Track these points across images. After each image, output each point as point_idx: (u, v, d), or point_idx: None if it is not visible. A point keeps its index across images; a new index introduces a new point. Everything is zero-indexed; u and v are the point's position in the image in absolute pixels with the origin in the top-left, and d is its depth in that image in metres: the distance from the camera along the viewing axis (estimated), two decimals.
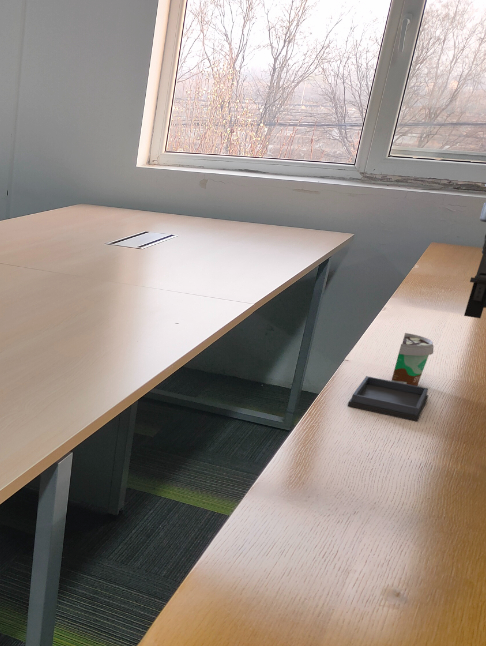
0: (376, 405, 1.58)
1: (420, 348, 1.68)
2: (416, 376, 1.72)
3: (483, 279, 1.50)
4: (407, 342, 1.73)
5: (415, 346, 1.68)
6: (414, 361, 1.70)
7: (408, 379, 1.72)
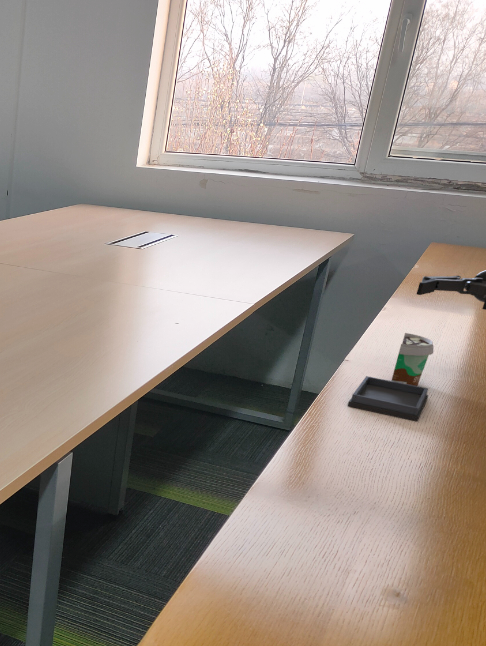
0: (376, 405, 1.58)
1: (420, 348, 1.68)
2: (416, 376, 1.72)
3: (422, 281, 1.85)
4: (407, 342, 1.73)
5: (415, 346, 1.68)
6: (414, 361, 1.70)
7: (408, 379, 1.72)
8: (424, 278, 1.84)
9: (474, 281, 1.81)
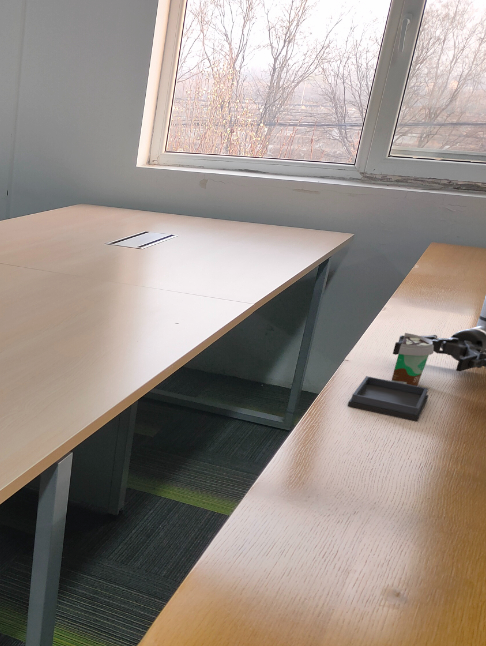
0: (376, 405, 1.58)
1: (420, 348, 1.68)
2: (416, 376, 1.72)
3: (399, 340, 1.88)
4: (407, 342, 1.73)
5: (415, 346, 1.68)
6: (414, 361, 1.70)
7: (408, 379, 1.72)
8: (401, 337, 1.87)
9: (450, 341, 1.84)
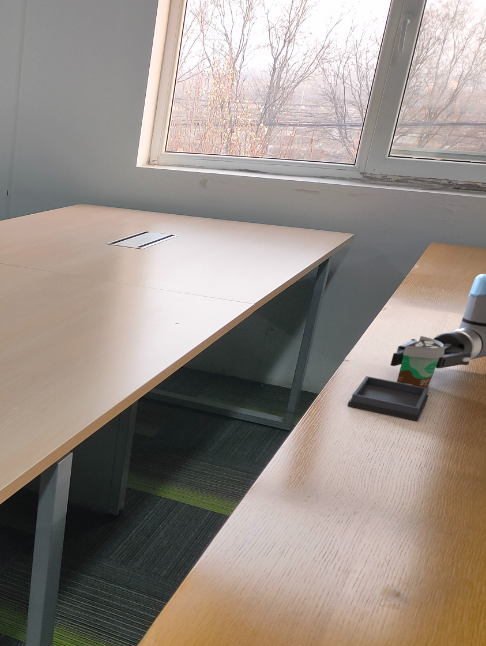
0: (376, 405, 1.58)
1: (426, 350, 1.67)
2: (424, 379, 1.70)
3: (397, 350, 1.78)
4: (417, 344, 1.71)
5: (420, 348, 1.67)
6: (420, 364, 1.68)
7: (414, 382, 1.70)
8: (401, 348, 1.77)
9: None
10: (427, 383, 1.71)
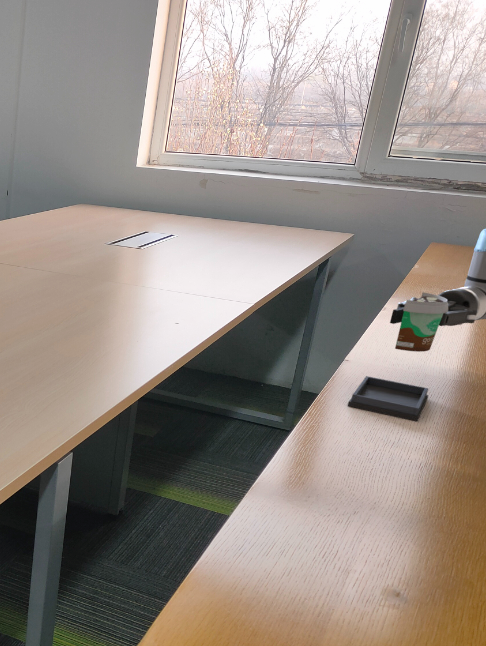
0: (376, 405, 1.58)
1: (428, 305, 1.54)
2: (426, 337, 1.57)
3: (397, 308, 1.64)
4: (418, 300, 1.58)
5: (422, 303, 1.54)
6: (422, 320, 1.55)
7: (415, 340, 1.57)
8: (401, 305, 1.64)
9: None
10: (430, 342, 1.58)
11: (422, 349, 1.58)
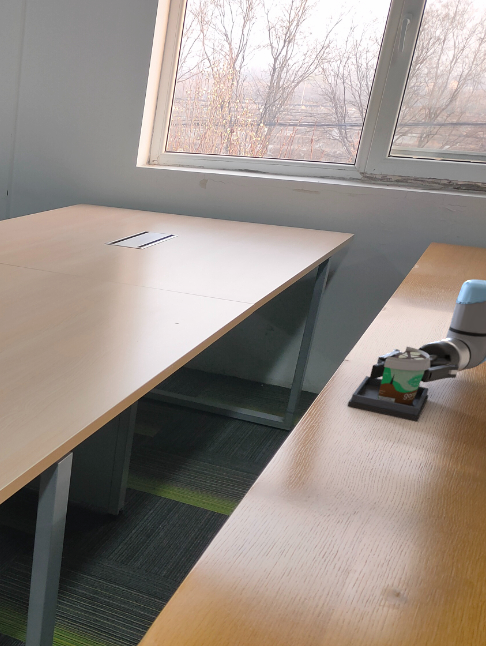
0: (376, 405, 1.58)
1: (409, 362, 1.55)
2: (407, 393, 1.58)
3: (377, 362, 1.66)
4: (400, 355, 1.59)
5: (403, 359, 1.55)
6: (402, 376, 1.56)
7: (396, 396, 1.58)
8: (381, 359, 1.65)
9: None
10: (411, 397, 1.59)
11: None
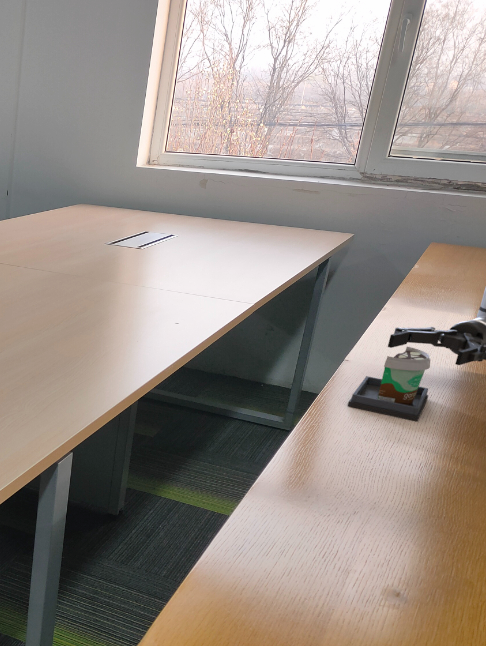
0: (376, 405, 1.58)
1: (409, 362, 1.55)
2: (407, 393, 1.58)
3: None
4: (400, 356, 1.59)
5: (403, 360, 1.55)
6: (402, 376, 1.56)
7: (396, 396, 1.58)
8: (396, 329, 1.76)
9: (448, 333, 1.73)
10: (411, 397, 1.59)
11: None
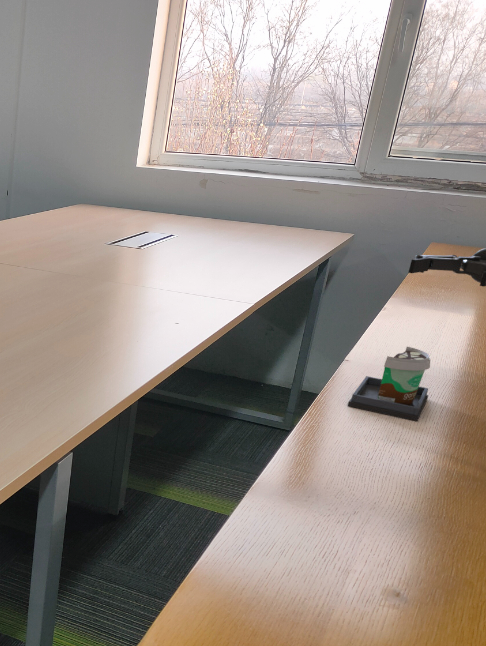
0: (376, 405, 1.58)
1: (409, 362, 1.55)
2: (407, 393, 1.58)
3: None
4: (400, 356, 1.59)
5: (403, 360, 1.55)
6: (402, 376, 1.56)
7: (396, 396, 1.58)
8: (417, 257, 1.70)
9: (471, 259, 1.67)
10: (411, 397, 1.59)
11: None
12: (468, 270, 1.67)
